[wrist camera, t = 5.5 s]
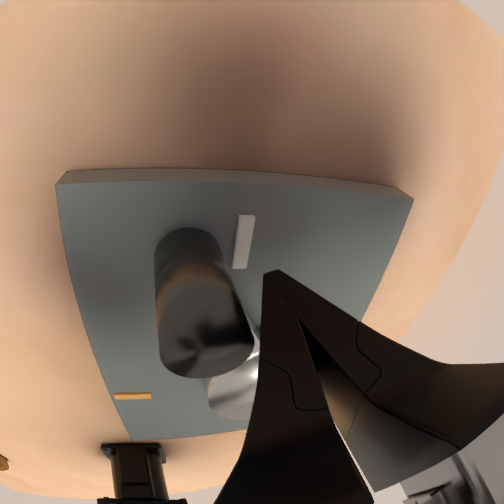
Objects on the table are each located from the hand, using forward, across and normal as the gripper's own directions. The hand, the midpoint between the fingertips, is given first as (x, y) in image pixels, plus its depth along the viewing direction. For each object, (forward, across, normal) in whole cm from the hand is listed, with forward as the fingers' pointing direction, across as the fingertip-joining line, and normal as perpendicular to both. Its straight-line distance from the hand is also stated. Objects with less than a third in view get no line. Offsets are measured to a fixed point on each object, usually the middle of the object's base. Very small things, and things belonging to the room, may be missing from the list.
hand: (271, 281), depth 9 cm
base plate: (+4, +2, +9) cm, 10 cm away
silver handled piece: (+3, +1, +6) cm, 7 cm away
